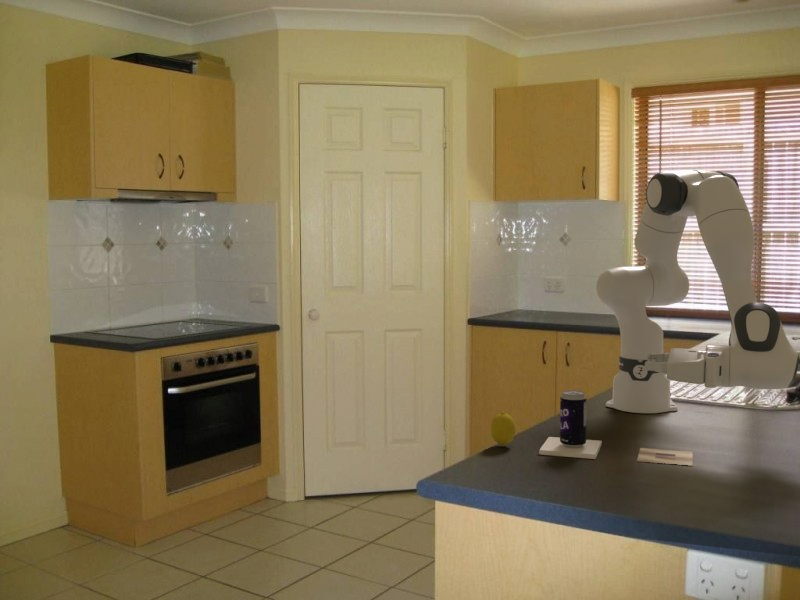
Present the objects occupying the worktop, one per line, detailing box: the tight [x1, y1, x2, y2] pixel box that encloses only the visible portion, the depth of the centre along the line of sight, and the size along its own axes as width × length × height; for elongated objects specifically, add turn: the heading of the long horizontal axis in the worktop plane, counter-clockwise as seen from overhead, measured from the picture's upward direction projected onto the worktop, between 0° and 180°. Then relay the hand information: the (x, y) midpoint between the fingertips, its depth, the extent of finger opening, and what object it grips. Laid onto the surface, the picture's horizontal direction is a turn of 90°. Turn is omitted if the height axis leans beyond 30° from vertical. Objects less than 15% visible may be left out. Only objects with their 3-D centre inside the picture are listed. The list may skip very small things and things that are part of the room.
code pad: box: [636, 447, 694, 467], centre depth 174 cm, size 11×11×1 cm
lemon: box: [490, 411, 516, 448], centre depth 184 cm, size 6×6×8 cm
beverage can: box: [559, 389, 587, 448], centre depth 180 cm, size 6×6×12 cm
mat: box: [538, 436, 603, 460], centre depth 181 cm, size 12×12×1 cm
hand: (646, 361), depth 177 cm, fingers open, 8 cm apart
